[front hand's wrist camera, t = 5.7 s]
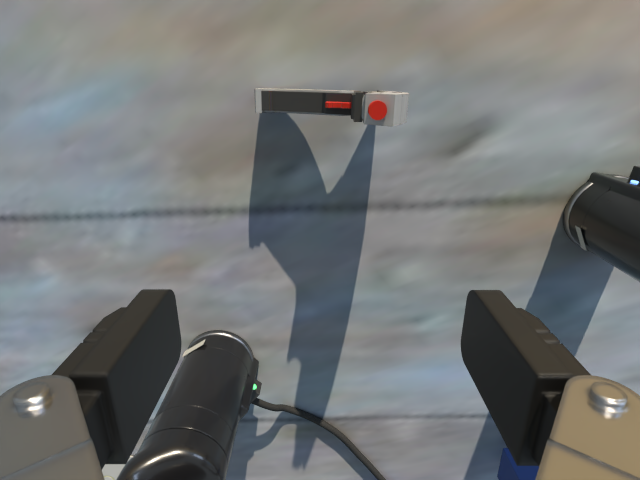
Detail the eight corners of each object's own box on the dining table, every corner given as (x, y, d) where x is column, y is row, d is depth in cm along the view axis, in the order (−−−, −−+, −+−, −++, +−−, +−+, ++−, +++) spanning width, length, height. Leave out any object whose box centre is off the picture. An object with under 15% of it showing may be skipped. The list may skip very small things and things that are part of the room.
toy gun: (220, 90, 32) (419, 94, 31) (263, 87, 47) (397, 91, 46) (222, 121, 33) (415, 127, 32) (264, 109, 48) (395, 113, 47)
